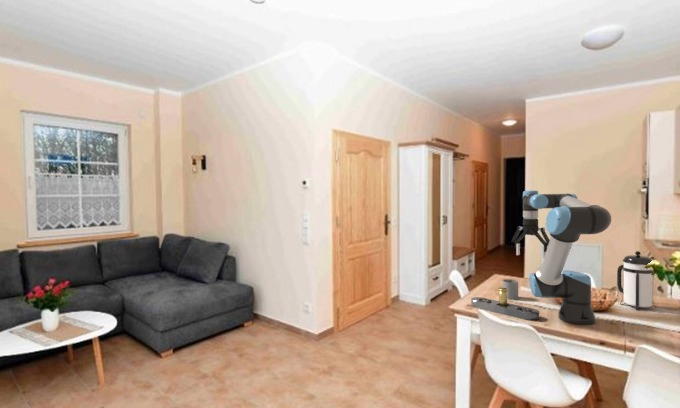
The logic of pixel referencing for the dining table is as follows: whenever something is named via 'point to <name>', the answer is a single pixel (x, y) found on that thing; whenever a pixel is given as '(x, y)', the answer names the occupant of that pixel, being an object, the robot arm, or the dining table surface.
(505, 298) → the pin
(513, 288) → the cup
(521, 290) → the dining table surface
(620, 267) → the coffee press
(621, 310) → the dining table surface
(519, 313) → the long dark plank
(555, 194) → the robot arm
